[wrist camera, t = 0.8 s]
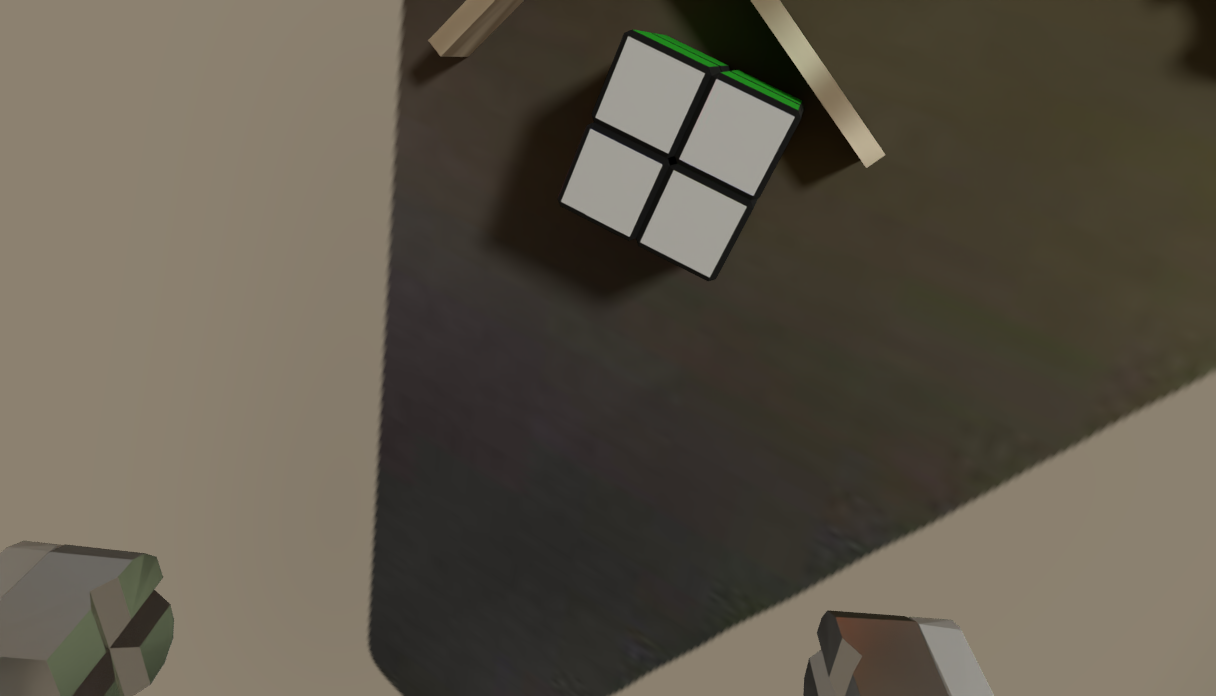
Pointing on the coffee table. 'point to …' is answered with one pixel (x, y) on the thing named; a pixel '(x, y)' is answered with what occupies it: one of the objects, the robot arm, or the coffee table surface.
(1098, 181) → the coffee table surface
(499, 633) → the coffee table surface
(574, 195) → the puzzle cube
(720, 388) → the coffee table surface
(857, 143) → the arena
